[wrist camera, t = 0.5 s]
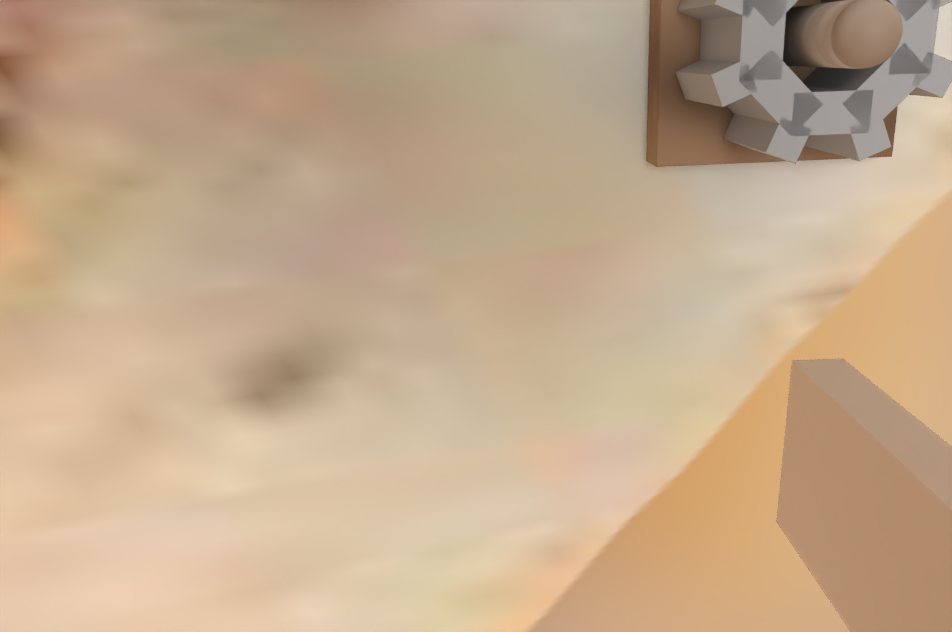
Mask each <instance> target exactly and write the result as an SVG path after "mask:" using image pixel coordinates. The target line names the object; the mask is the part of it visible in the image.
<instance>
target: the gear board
mask: <svg viewBox="0 0 952 632" xmlns="http://www.w3.org/2000/svg"><path fill="white" fill-rule="evenodd" d="M680 2H681V0H650V32H649V76H648V120H647V161H648V162H650V163H651V164H653V165H655V166H657V167H661V166H684V165H707V164H730V163H753V162H776V161H786V160H783V159H780V158H777V157H774V156H771V155H768V154H765V153H761V152H758V151H755V150H752V149H749V148H747V147H744V146H742V145H739V144H736V143H734V142H731V141H729V140H726V139H724V135H725V133H726V131H727V129H728V126H729V124H730V122H731V120H732V118H733V115H734V113H733V112H732V111H731V110H730V109H729V108H728V107H727V106H724V107H720V106H715V105H710V104H706V103H701V102H696V101H691V100H686V99H685V97H684V94H683V92H682V89H681V86H680V84H679V81H678V78H677V76H676V73H675V72H676V71H678V70H680V69H682V68H684V67H686V66H688V65H691V64H693V63H695V62H697V61H699V60H700V39H701V20H698V19H696V18H694V17H691V16H689V15H686V14H684V13H681V12H679V11H677V10H678V7H679V5H680ZM902 33H903V24H902V19H901V16H900V14H899V12H898V11H897V9H896V8H895V7H894V6H893V5H892V4H890V3H889V2H887V1H885V0H844V1H836V2H828V3H822V2H821V1H820V0H798V1H797V2H796V3H795V4H794V5H793V6H792V7H791V8H790V9H789V10H788V11H787V12H786V21H785V35H784V50H783V62H784V63H785V64H786V65H787V66H788V67H789V68H790V69H791V70H792V71H793V72H794V74H795V75H796V76H797V77H798V78H799V79H800V80H801V81H802V82H803V81H804V80H805V79H806V78H807V77H808V76H809V75H810V74H811V73H812V72H813V71H814V70H815V69H816V68H817V67H827V68H851V69H865V68H871V67H874V66H876V65H879V64H881V63H882V62H884V61H885V60H887V59H888V58H889V57H890V56H891V55H892V54H893V53H894V52H895V50H896V49H897V47H898V45H899V43H900V41H901V38H902ZM897 106H898V105H897ZM897 106H896V107H895V108H894V109H893V110H892V111H891V112H890V113H889V114H888V115H887V116H886V117H885V118H884V119H883V121H884V124H885V127H886V131H887V134H888V137H889V141H890V144H891V147H890V148H887V149H885V150H883V151H881V152H878V153H876V154H874V155H872V156H869V157H892V151H893V142H894V133H895V124H896V115H897ZM869 157H867V158H869ZM845 158H847V157H843V156H839V155H836V154H832V153H828V152H825V151H821V150H817V149H814V148H810V147H806V146H804V147H803V149H802V151H801V153H800V155H799V158H798V160H797V161H799V160H822V159H845Z"/></svg>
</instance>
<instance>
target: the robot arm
mask: <svg viewBox="0 0 952 632" xmlns="http://www.w3.org/2000/svg"><path fill="white" fill-rule="evenodd" d="M776 521H777V523H778V525H779V526H780V528H781V529H782V531H783V532H784V534H785V535H786V537H787V538H788V540H789V541H790V542H791V544H792V545H793V547H794V548H795V550H796V551H797V553H798V554H799V556H800V557H801V559H802V560H803V562H804V563H805V565H806V566H807V568H808V569H809V571H810V572H811V574H812V575H813V576H814V578H815V579H816V581H817V582H818V584H819V585H820V587H821V588H822V590H823V591H824V593H825V594H826V596H827V597H828V599H829V600H830V602H831V603H832V605H833V606H834V608H835V609H836V611H837V612H838V614H839V615H840V616H841V618H842V619H843V621H844V622H845V624H846V625H847V627H848V628H849V630H850V631H851V632H952V447H951V446H950V445H949V444H948V443H947V442H945V441H944V440H943V439H942V438H940V437H939V436H938V435H937V434H935V433H934V432H933V431H932V430H931V429H929V428H928V427H927V426H926V425H924V424H923V423H922V422H921V421H919V420H918V419H917V418H916V417H915V416H913V415H912V414H911V413H910V412H908V411H907V410H906V409H905V408H903V407H902V406H901V405H900V404H898V403H897V402H896V401H895V400H893V399H892V398H891V397H890V396H888V395H887V394H886V393H885V392H884V391H882V390H881V389H880V388H879V387H878V386H876V385H875V384H874V383H872V382H871V381H870V380H869V379H868V378H866V377H865V376H864V375H863V374H861V373H860V372H859V371H858V370H857V369H855V368H854V367H853V366H851V365H850V364H849V363H848V362H847V361H845V360H844V359H818V360H792V366H791V378H790V387H789V397H788V407H787V418H786V429H785V438H784V448H783V459H782V469H781V480H780V490H779V500H778V510H777V520H776Z"/></svg>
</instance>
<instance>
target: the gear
mask: <svg viewBox="0 0 952 632" xmlns="http://www.w3.org/2000/svg"><path fill="white" fill-rule="evenodd" d="M797 1H798V0H681V2H680V5H679V7H678V10H677V11H679V12H681V13H684V14H686V15H689V16H691V17H694V18H696V19H698V20H701V39H700V60H699V61H697V62H695V63H693V64H691V65H688V66H686V67H684V68H682V69H680V70H678V71H676V72H675V73H676V76H677V78H678V81H679V84H680V86H681V89H682V92H683V94H684V97H685V99H686V100H691V101H696V102H701V103H706V104H710V105H715V106H720V107H724V106H727V107H728V108H729V109H730V110H731V111H732V112H733V113H734V115H733V118H732V120H731V122H730V124H729V126H728V129H727V131H726V133H725V135H724V139H726V140H729V141H731V142H734V143H736V144H739V145H742V146H744V147H747V148H749V149H752V150H755V151H758V152H761V153H765V154H768V155H771V156H774V157H777V158H780V159H783V160H786V161H789V162H792V163H795V164H796V162H797V160H798V158H799V155H800V153H801V151H802V149H803V147H804V146H806V147H810V148H814V149H817V150H821V151H825V152H828V153H832V154H836V155H839V156H843V157H847V158H851V159H854V160H858V161H861V160H863V159H865V158H867V157H869V156H872V155H874V154H876V153H878V152H881V151H883V150H885V149H887V148H890V147H891V144H890V141H889V137H888V134H887V131H886V127H885V124H884V121H883V119H884V118H885V117H886V116H887V115H888V114H889V113H890V112H891V111H892V110H893V109H894V108H895V107H896V106H897V105H898V104H899V103H900V102H902V101H903V100H904V99H905V98H906V97H907V96H908V95H920V96H930V97H941V98H943V96H944V94H945V92H946V90H947V88H948V87H949V85H950V83H951V81H952V61H950V60H948V59H945V58H943V57H941V56H938V55H936V54H933V53H934V45H935V37H936V29H937V21H938V13H939V7H941V6H943V5H945V4H948V3H950V2H952V0H885V1H887V2H889V3H890V4H892V5H893V6H894V7H895V8H896V9H897V11H898V12H899V14H900V16H901V19H902V24H903V33H902V38H901V41H900V43H899V45H898V47H897V49H896V50H895V52H894V53H893V54H892V55H891V56H890V57H889V58H888V59H887V60H885V61H884V62H882V63H881V64H879V65H876V66H874V67H871V68H865V69H851V68H827V67H817V68H816V69H815V70H814V71H813V72H812V73H811V74H810V75H809V76H808V77H807V78H806V79H805V80H804V81H803V82H802V81H801V80H800V79H799V78H798V77H797V76H796V75H795V74H794V72H793V71H792V70H791V69H790V68H789V67H788V66H787V65H786V64H785V63H784V62H783V50H784V35H785V21H786V12H787V11H788V10H789V9H790V8H791V7H792V6H793V5H794V4H795V3H796V2H797ZM820 1H821V2H822V3H828V2H836V1H844V0H820Z"/></svg>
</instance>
